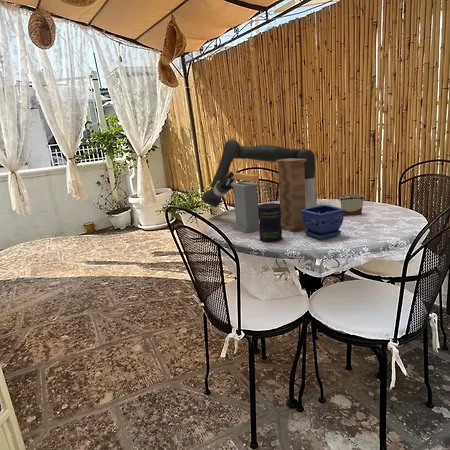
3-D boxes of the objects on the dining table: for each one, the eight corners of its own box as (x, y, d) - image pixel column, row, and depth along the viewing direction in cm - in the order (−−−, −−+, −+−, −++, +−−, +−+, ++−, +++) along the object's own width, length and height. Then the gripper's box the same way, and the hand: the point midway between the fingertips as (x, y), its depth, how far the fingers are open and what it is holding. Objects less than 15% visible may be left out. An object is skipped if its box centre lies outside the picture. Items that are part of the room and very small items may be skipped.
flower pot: (320, 242, 146) (319, 214, 143) (300, 235, 158) (299, 208, 155) (345, 236, 151) (345, 208, 148) (325, 229, 163) (324, 204, 160)
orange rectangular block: (228, 178, 179) (228, 173, 178) (234, 177, 180) (233, 172, 180) (253, 181, 160) (253, 176, 160) (258, 180, 162) (258, 175, 161)
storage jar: (279, 242, 150) (278, 208, 146) (257, 242, 153) (254, 208, 150) (284, 235, 159) (282, 202, 155) (262, 235, 162) (260, 203, 159)
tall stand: (277, 227, 173) (273, 160, 165) (293, 223, 177) (290, 158, 169) (293, 232, 163) (290, 161, 155) (310, 227, 167) (308, 158, 159)
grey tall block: (232, 228, 178) (229, 184, 173) (249, 224, 183) (246, 181, 177) (245, 233, 168) (242, 186, 163) (263, 228, 173) (260, 183, 167)
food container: (361, 212, 187) (361, 193, 184) (364, 215, 181) (364, 195, 178) (337, 213, 188) (336, 195, 186) (339, 216, 182) (339, 197, 180)
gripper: (208, 182, 188) (220, 167, 173) (231, 179, 194) (245, 164, 179) (213, 195, 186) (225, 181, 171) (236, 191, 192) (250, 177, 177)
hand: (235, 172), depth 175 cm, fingers closed on orange rectangular block, 3 cm apart
